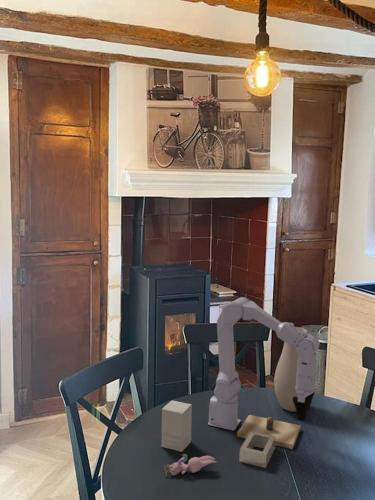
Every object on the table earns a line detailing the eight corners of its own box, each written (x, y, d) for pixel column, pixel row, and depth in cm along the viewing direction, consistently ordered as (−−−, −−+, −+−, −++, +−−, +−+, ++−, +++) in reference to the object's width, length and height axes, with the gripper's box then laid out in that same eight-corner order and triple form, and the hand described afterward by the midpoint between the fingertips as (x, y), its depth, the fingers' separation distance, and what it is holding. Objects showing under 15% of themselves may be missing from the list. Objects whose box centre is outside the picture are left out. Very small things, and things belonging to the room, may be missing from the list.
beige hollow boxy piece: (239, 461, 152) (239, 448, 151) (250, 442, 163) (250, 431, 162) (265, 468, 149) (266, 455, 148) (275, 448, 160) (275, 436, 159)
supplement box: (191, 441, 162) (192, 404, 161) (181, 452, 156) (182, 413, 154) (171, 436, 165) (171, 399, 164) (160, 446, 159) (161, 408, 157)
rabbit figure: (167, 484, 142) (219, 472, 144) (164, 465, 141) (216, 452, 143) (164, 472, 148) (214, 460, 150) (161, 453, 147) (211, 441, 149)
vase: (272, 399, 196) (276, 323, 192) (308, 402, 194) (313, 325, 190) (273, 415, 183) (277, 334, 178) (312, 418, 181) (317, 336, 177)
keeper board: (237, 436, 166) (237, 420, 166) (249, 418, 179) (249, 403, 178) (292, 449, 160) (293, 432, 159) (300, 429, 172) (301, 414, 172)
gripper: (315, 384, 151) (312, 427, 153) (322, 368, 165) (319, 408, 166) (291, 380, 154) (289, 422, 156) (300, 364, 167) (297, 404, 169)
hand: (303, 415), depth 161 cm, fingers open, 7 cm apart
